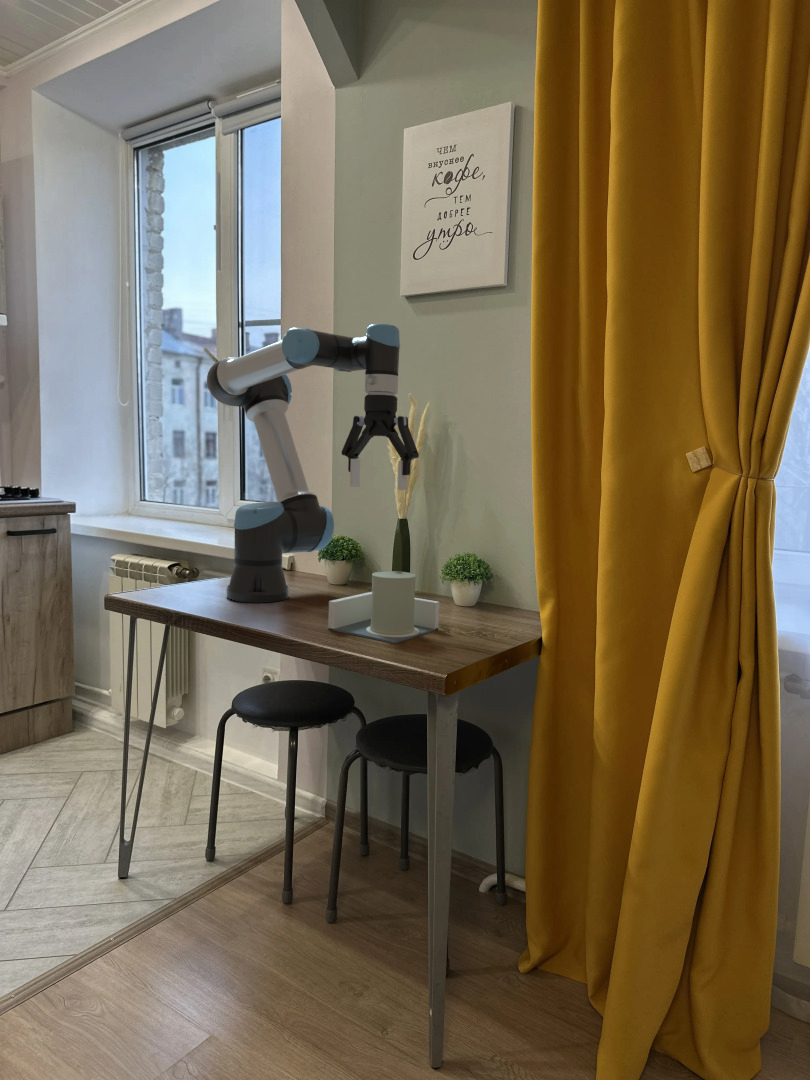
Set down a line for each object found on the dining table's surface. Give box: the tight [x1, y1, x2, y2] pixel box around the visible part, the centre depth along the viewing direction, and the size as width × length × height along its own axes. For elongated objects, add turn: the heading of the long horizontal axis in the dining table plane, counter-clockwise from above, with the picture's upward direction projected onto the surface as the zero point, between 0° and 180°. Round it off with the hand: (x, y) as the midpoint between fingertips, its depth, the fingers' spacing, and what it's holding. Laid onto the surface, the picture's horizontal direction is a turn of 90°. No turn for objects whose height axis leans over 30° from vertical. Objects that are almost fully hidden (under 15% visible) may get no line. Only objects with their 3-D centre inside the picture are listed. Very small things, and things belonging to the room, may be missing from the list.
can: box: [370, 570, 417, 635], centre depth 153 cm, size 9×9×12 cm
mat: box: [327, 619, 439, 644], centre depth 156 cm, size 17×16×1 cm
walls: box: [327, 591, 440, 632], centre depth 155 cm, size 17×16×6 cm
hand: (377, 488), depth 171 cm, fingers open, 13 cm apart
